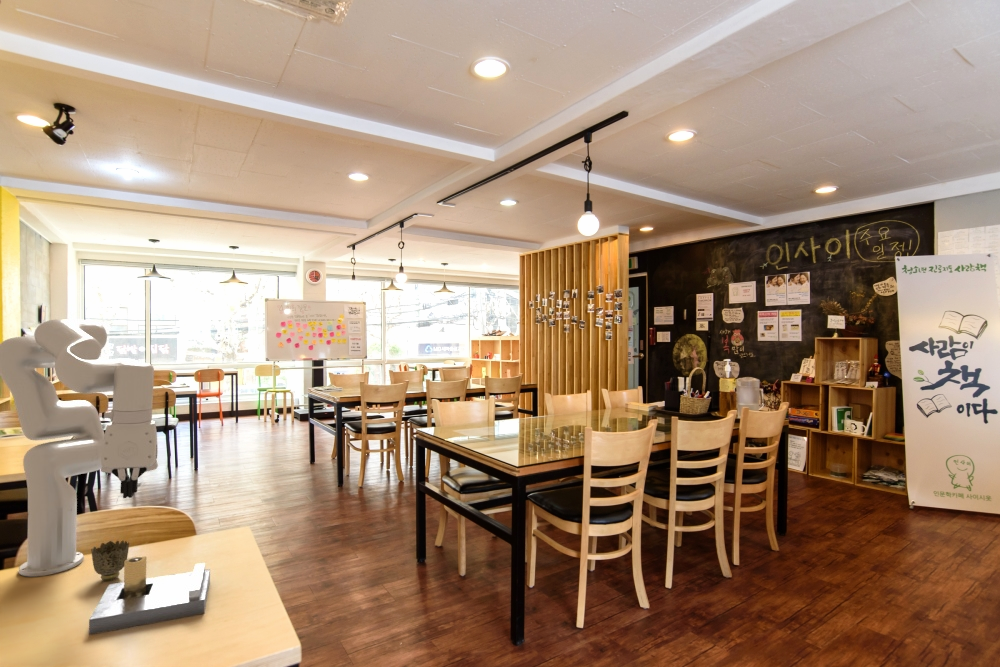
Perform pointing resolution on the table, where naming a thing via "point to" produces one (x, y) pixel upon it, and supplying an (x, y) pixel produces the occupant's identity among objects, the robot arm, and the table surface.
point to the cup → (110, 559)
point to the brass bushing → (135, 577)
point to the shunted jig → (152, 601)
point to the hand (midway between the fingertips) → (128, 495)
